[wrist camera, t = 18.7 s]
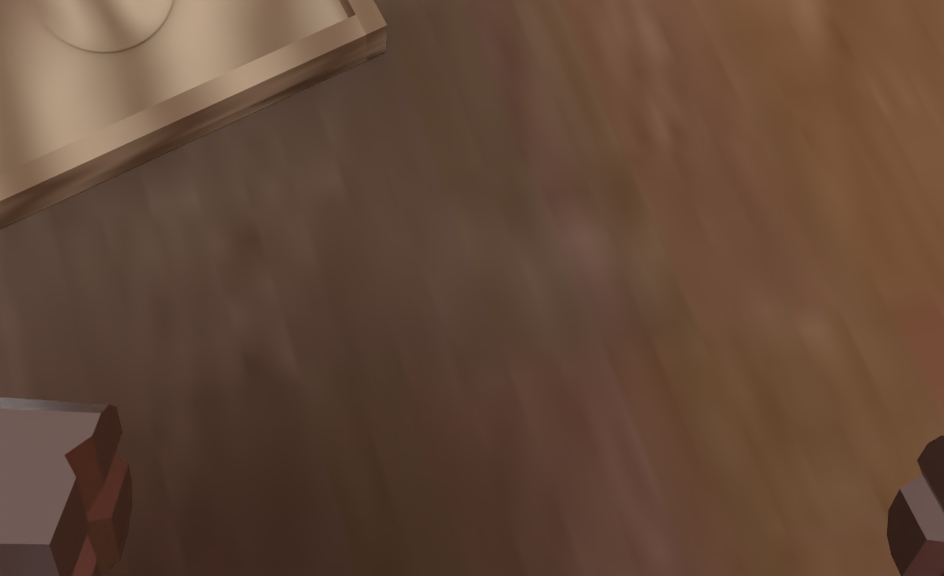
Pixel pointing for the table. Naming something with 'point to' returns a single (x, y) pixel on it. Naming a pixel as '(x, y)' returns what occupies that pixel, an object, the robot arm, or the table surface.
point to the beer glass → (103, 21)
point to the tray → (157, 86)
